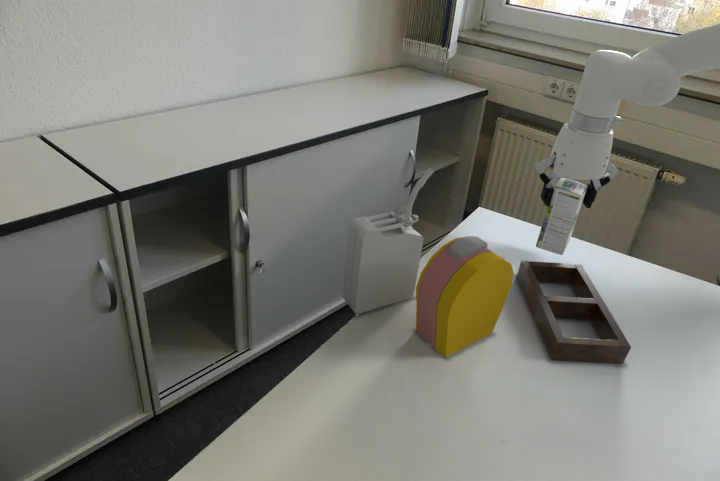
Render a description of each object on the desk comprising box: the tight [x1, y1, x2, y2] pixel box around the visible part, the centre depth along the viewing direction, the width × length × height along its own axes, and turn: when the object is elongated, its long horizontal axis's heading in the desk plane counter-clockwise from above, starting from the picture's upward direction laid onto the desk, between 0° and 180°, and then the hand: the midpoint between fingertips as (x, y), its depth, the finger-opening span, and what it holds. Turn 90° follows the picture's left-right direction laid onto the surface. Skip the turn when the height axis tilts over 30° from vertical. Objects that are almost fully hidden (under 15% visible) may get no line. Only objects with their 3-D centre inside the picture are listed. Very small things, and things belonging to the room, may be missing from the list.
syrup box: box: [535, 178, 588, 256], centre depth 112 cm, size 6×6×14 cm
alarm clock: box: [415, 235, 515, 358], centre depth 90 cm, size 15×8×18 cm, turn 126°
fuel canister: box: [342, 167, 435, 315], centre depth 95 cm, size 15×5×25 cm, turn 120°
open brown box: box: [516, 260, 632, 365], centre depth 100 cm, size 12×24×4 cm, turn 1°
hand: (565, 203), depth 110 cm, fingers closed on syrup box, 7 cm apart
